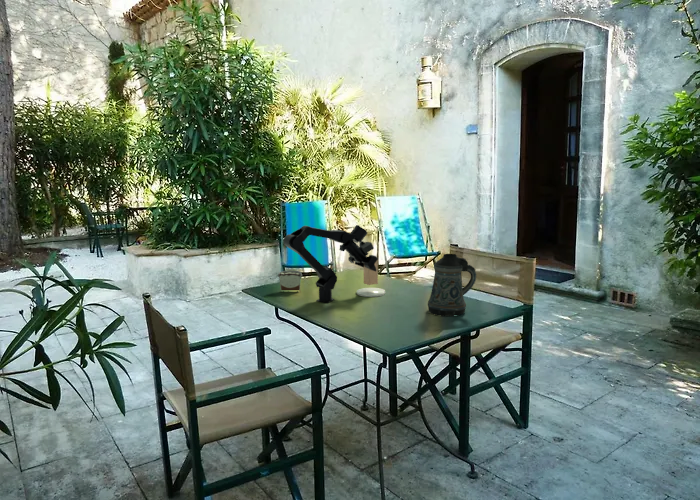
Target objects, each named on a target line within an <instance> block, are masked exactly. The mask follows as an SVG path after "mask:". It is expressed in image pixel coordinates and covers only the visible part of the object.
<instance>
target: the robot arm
mask: <svg viewBox="0 0 700 500" xmlns="http://www.w3.org/2000/svg"><path fill="white" fill-rule="evenodd" d="M367 235H368V231H367V229H365V228H363V227H362V226H360V225H359V224H356V225H355V226H354V227H353V229H352V230H351V231H350V232H348V231H345V230H341V229H333V230H332V229H331V230H328V229H322V228H317V227H311V226H308V225H303V226H301V227H300V228H298V229H297V230H295V231H292V233H289V234H286V235H285V237H284V238H283V244H284V246H286V247H287V248H288V249H290V250H292V251H293V252H294V253H296V254H298V255H299V257H301V259H302V260H303V261H305V262H306V264H307V265H308V266H310V267H311V269H313V271H314V272H315V273H316V275H317V277H318V279H317V281H315V285H316V288H318V299H316V302H317V301H318V302H319V303H328V304H329V303H330V302H333V301H335V300H336V299H335V298H333V295H332V294H333V291H332V290H334V289H335V286H336V283H337V282H338V281H337V280H338V276H337V273H336V272H335V271H334V270H333V269H332V268H331V267H329V266H326V265H325V266H323V265H322V263H321V262H320V261H319V260H317V259H316V257H315V256H314V255H313V254H312V253H311V252H310V251H309V250H308V249H307V247H305V246H306V245H305V244H304V242H305V241H306V239H307V238H308V237H309V236H314V237H320V238H324V239H328V240H331V241H333V242H336V243H341V244H340V245H339V249H338V250H339V251H342V252H345V251H346V252H347V253H348V262H350V263H351V264H354V265H356V266H358V267H361V268H363V269H364V265H365V267H366V268H368V269H370V270H373V271H375V272H376V270H377V269H376V267H375V265H374V264H375V263H376V261H377V260H379V258H378V257H377V255H374V254H369V252H370V251H372V250H374V249H375V248H374V245H373V242H371V241H363V240H364V238H365V237H366V236H367ZM358 244H359V245H358ZM368 254H369V255H368Z"/></svg>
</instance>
